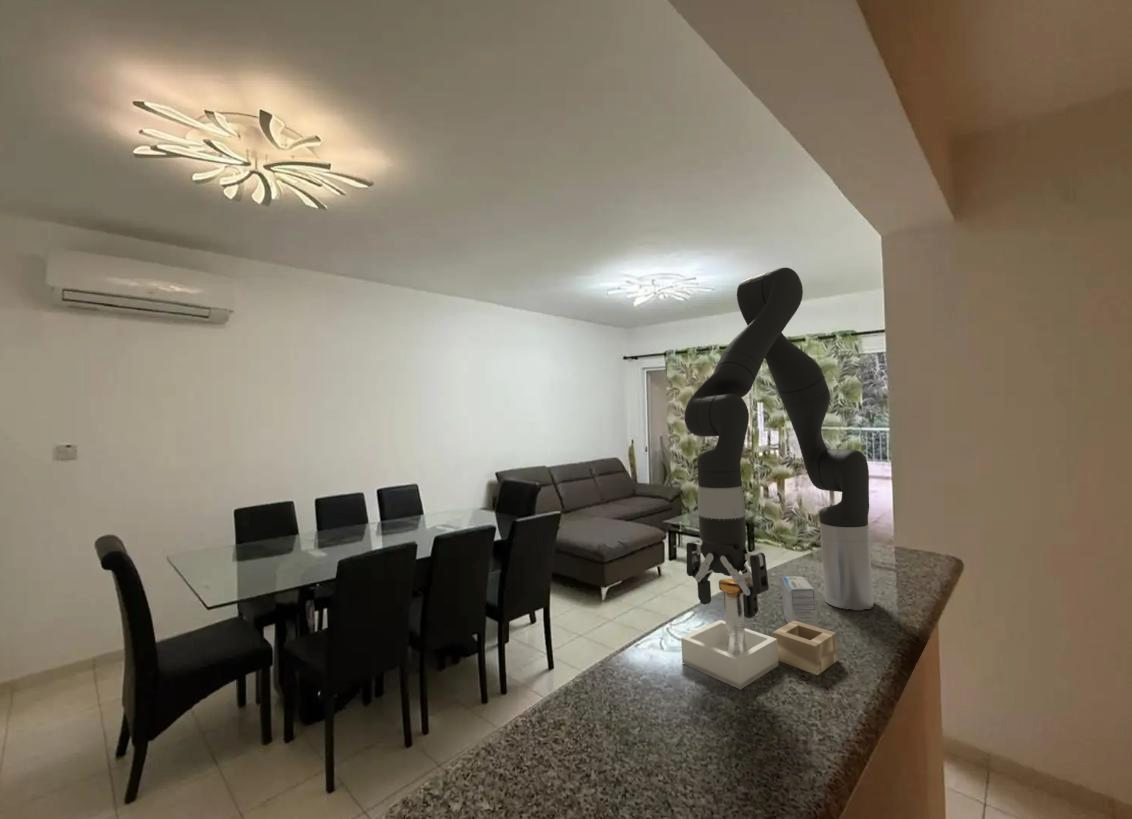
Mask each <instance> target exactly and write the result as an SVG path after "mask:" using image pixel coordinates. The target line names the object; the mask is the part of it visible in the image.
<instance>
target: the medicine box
mask: <svg viewBox="0 0 1132 819" xmlns="http://www.w3.org/2000/svg"><path fill="white" fill-rule="evenodd" d="M781 595H782V608H783V609H782V610H783V611H782V612H783V618H784V620H785V621H786V624H788V623H790V622H792V621H798V622H801V623H804V624H808V625H811V626H815V627H818V628H819V624H818V612H817V600H816V599H817V598H816V590H815V588H814V587H813V586H812V584H810V583H809V581H807V578H805V577H804V576H793V575H792V576H791V575H790V576H781Z"/></svg>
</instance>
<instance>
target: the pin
mask: <svg viewBox="0 0 1132 819" xmlns="http://www.w3.org/2000/svg"><path fill="white" fill-rule="evenodd" d="M718 588H719V591H722V592H723V600H724V601H723V603H724V604H723V605H724V621H725V624H726V642H727V653H730V654H732V655H735V656H738V655H740V654H742V653H744V652H745V651H746V641H745V628H746V626H745V625H746V624H745V616H744V604H743V595H744V592H743V591H742V589H741V587H740V586H739V584H738V583H736V582H735V581H734V580H733V578H722V579H720V580H718Z"/></svg>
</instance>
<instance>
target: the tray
mask: <svg viewBox="0 0 1132 819" xmlns="http://www.w3.org/2000/svg"><path fill="white" fill-rule="evenodd" d="M745 641H746V651H745V652H744V653H742V654H740V655H738V656H735V655H732V654H730V653H727V642H726V624H725V620H722V619H719V620H717V621H714V622H712V623H710V624H707V625H706V626H704V627H701V628H699V629H697V630H695V631H693V632H690V633H688V634H686V635H684V636H682V637H680V642H681V661H682V664H683V663H684V664H683V665H685V664H686V665H685V666H687V665H688V666H687V667H690V668H691V669H694V670H696V671H699V672H701V673H703V674H705V675H707V676H709V677H712V678H714V679H716V680H719V681H720V682H723V683H725V684H727V685H729V686H731V687H734V688H736V689H738V690H739V691H741V690H742V689H743V688H745V687H747V686H748V685H750V684H752V683H753V682H755V681H756V680H759V678H761V677H763V676H764V675H766V674H767V673H769V672H770V671H772V670H774V669H776V668H777V667H778V666H779V665H780V664H779V662H780V661H778V645H777V639H776V638H773V636H769V635H766V634H764V633H761V632H758V631H755V630H752V629H749V628H746V627H745Z"/></svg>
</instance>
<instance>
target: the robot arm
mask: <svg viewBox="0 0 1132 819" xmlns="http://www.w3.org/2000/svg"><path fill="white" fill-rule="evenodd" d="M736 290H737V291H736V300H737V304H738V308H739V310H740V312H741V315H742V318H743V319H744V321H745V323H746V325H747V326H746V327H745V328H744V329H742V331H740V332H739V333H738V334H737V335H736V336H735V337H734V338H733V339H732V340H731V341H730V343H729V344H728V345H727V346H726V348H725V349H724V351H723V353H722V354H721V356H720V358H719V360H718V362H717V364H716V367H715V368H714V371H713V373H712V374H711V375H710V376H709V377H708V378H707V379H705V381H704V382H703V383H702V384H701V385H700V387H698V389H697V390H696V391H695V392H694V393H693V394H692V396H691V397H690V399H689V401H687V403H686V407H685V409H684V424H685V426H686V428H687V430H688V431H689V432H690V433H691V434H692V435H694V436H698V437H718V439H717V442H716V445H715V447H714V448H713V449H709V450H705V451H703V452H701V453H699V455H698V456H697V464H696V465H697V468H696V469H697V483H698V490H697V492H698V494H697V510H698V511H697V512H698V530H699V531H698V532H699V539H700V540H701V541H702V542H700V541H699V540H697V539H696V540H692V541H690V542H689V541H688V542H687V543H686V574H687V576H688V577H692V578H694V579H695V581H696V582H697V584H696V585H697V598H698V600H699V602H700V604H702V605H709V604H710V603H711V602H712V590H711V589H712V588H711V587H712V586H711V580H709V579H710V577H711V576H712V574H713V573H714V574H722V575H724V576H726V577H731V579H733V580H734V581H735V582H736V583H738V584H739V586H740V587H741V589H742V591H743V592H744V593H743V606H744V618H746V619H752V618H753V617H755V616H756V615H757V614H758V612H759V606H758V604H759V603H758V601H759V600H758V595H759V594H762V593H766V591H768V590H769V589H770V588H769V580H768V578H769V577H768V570H767V561H766V555H765V553H764V552H761V551H759V552H758V553H752V552H748V550H747V548H746V542H747V528H746V527H747V525H746V524H747V523H746V510H745V507H746V506H745V497H744V493H743V486H742V472H741V462H742V456H743V452H744V451H743V450H744V444H745V440H746V435H747V432H748V427H749V421H750V414H749V409H748V406H747V403H746V402H745V400H744V399H743V397H745V396H747V395H748V393H749V392H750V391H751V389H752V387H753V385H754V382H755V380H756V378H757V376H758V373H759V371H760V369H761V366H762V365H763V363H764V361H765V362H766V364H767V367H768V370H769V371H770V374H771V376H772V379H773V382H774V384H775V389H776V390H777V392H778V395H779V398H780V400H781V402H782V404H783V407H784V408H785V409H784V410H785V412H786V414H787V416H788V418H789V421H790V423H791V425H792V428H793V431H794V434H795V437H796V440H797V442H798V446H799V449H800V453H801V457H802V460H803V464H804V467H805V470H806V473H807V476H808V478H809V480H810V481H811V483H812V485H813V486H814V487H815V488H816V489H819V490H822V491H828V492H840V493H841V500H840V502H838V503H836V504H833V505H829V506H828V505H827V506H826V507H822V508H820V510H819V511H818V512H819V518H818V519H819V531H820V532H819V533H820V544H821V562H822V575H823V576H822V578H823V591H824V592H823V593H824V594H823V595H824V596H823V597H824V601H825V603H827V604H828V605H831V607H832V606H833V607H834V608H839V609H842V608H843V610H848V609H853V610H852V611H864V610H863V609H868V610H870V609H869V608H871V607H873V608H874V606H873V605H875V604H874V602H875V601H874V590H873V588H874V586H873V575H872V574H873V573H872V560H871V559H872V558H871V544H870V531H869V513H870V512H869V511H870V475H869V474H870V472H869V464H868V460H867V458H866V456H865V455H864V453H863V452H861V451H859V450H857V449H836V448H835V449H830V448H828V447H827V445H826V443H825V441H824V438H823V434H822V428H823V423H824V420H825V418H826V416H827V415H826V414H827V412H828V409H829V405H830V402H831V392H830V389H829V386H828V384H827V380H826V379H825V376H824V373H823V370H822V368H821V367H820V365H819V363H817V362H816V361H815V359H814V358H812V357H811V356H810V355H809V354H808V353H806V352H805V351H804V350H802V349H801V348H799V347H798V346H797V345H795V344H794V343H792V342H791V341H790V340H789V339H788V338H787V337H786V335H784V334H783V331H784V329H785V328H786V327H787V325H788V324H789V323H790V321H791V320H792V318H793V317H794V315H795V314H796V313H797V311H798V309H799V308H800V305H801V303H802V300H803V294H804V289H803V284H802V281H801V278H800V277H799V274H798V273H797V272H796V271H795V270H794V269H792V268H790V267H787V266H786V267H779V268H775V269H772V270H768V271H766V272H763V273H760V274H757V275H754V276H752V277H749V278H746V279H744V280H742V281H741V282H740V283H739V284H738V286H737V289H736ZM701 554H702V556H703V558H704V560H703V562H702V563H701V559H702V558H701ZM747 562H748V563H747ZM746 563H747V564H746ZM747 565H748V566H747ZM749 567H750V569H749ZM750 570H751V571H750ZM740 572H741V573H740ZM871 609H872V608H871Z"/></svg>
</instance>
